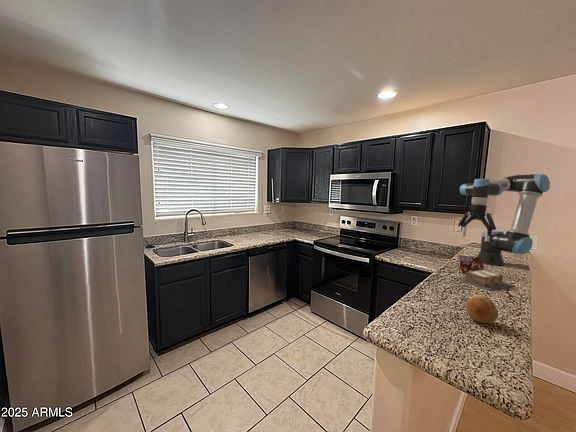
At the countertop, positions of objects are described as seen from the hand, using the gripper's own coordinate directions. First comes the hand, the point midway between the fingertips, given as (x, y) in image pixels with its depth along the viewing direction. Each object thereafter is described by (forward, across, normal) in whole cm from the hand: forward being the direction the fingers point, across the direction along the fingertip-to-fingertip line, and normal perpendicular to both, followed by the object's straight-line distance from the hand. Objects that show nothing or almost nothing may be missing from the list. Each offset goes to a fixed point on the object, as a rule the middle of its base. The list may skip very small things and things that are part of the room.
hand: (474, 239), depth 149 cm
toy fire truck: (+22, 0, 0) cm, 22 cm away
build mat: (+22, +13, -9) cm, 27 cm away
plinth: (+22, +14, -11) cm, 28 cm away
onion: (+24, +41, -56) cm, 73 cm away
